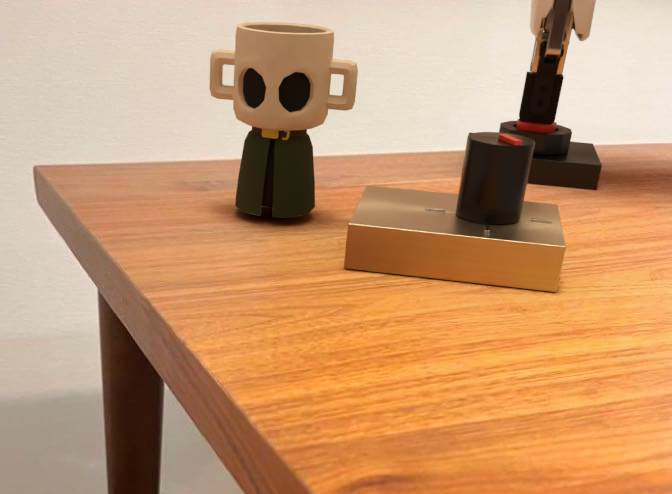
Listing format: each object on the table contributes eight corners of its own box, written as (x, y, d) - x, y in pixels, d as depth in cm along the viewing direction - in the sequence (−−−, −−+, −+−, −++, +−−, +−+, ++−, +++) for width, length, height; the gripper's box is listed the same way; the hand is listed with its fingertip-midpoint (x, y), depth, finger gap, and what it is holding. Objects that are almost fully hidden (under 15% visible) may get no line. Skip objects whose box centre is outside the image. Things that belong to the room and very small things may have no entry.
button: (551, 139, 92) (555, 119, 91) (553, 147, 89) (557, 126, 88) (513, 136, 93) (517, 116, 92) (513, 143, 90) (517, 123, 89)
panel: (548, 245, 72) (558, 201, 70) (556, 292, 63) (567, 244, 61) (362, 225, 74) (367, 182, 72) (343, 268, 65) (348, 221, 63)
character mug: (194, 218, 74) (197, 25, 66) (218, 196, 79) (223, 17, 72) (336, 234, 72) (354, 38, 65) (349, 210, 78) (367, 28, 71)
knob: (444, 208, 68) (456, 127, 65) (500, 206, 69) (514, 126, 66) (474, 225, 64) (488, 141, 61) (532, 223, 66) (549, 140, 63)
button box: (587, 167, 96) (597, 123, 94) (596, 190, 87) (607, 143, 85) (465, 155, 97) (472, 112, 95) (462, 177, 89) (469, 131, 87)
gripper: (640, -117, 73) (583, 140, 83) (619, -112, 86) (572, 111, 96) (539, -122, 74) (494, 132, 84) (533, -117, 87) (495, 104, 97)
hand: (536, 120), depth 90 cm, fingers closed
